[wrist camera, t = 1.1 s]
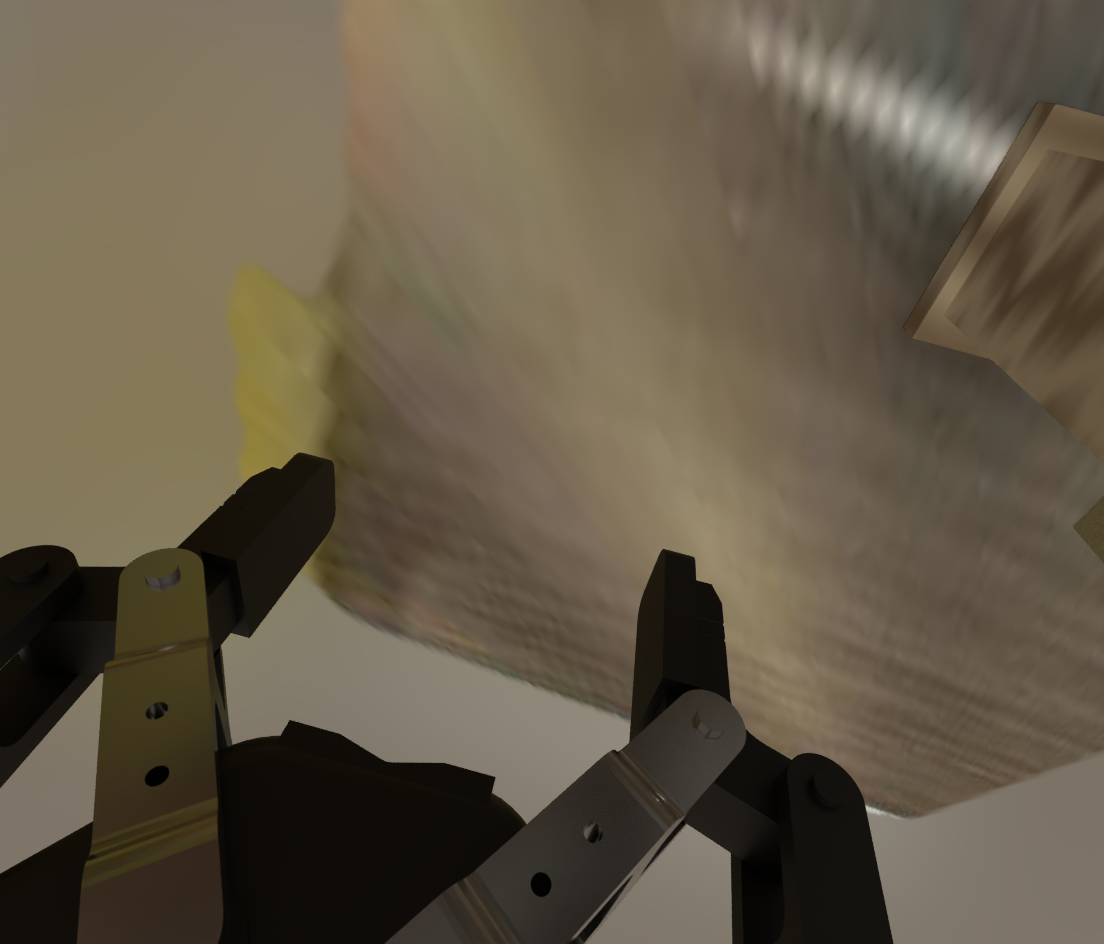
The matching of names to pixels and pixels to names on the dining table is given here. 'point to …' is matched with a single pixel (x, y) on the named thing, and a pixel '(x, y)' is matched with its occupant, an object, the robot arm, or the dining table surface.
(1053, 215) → the stand
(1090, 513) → the grey elongated piece
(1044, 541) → the dining table surface
